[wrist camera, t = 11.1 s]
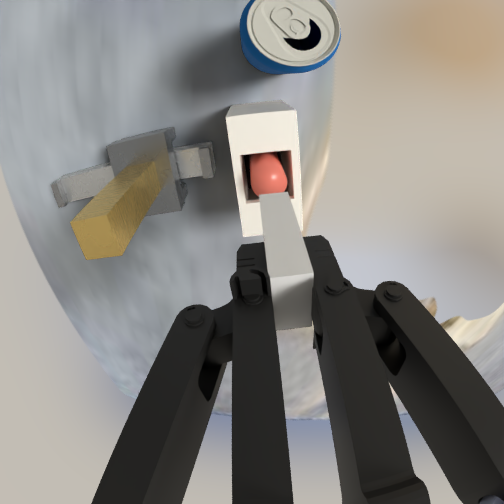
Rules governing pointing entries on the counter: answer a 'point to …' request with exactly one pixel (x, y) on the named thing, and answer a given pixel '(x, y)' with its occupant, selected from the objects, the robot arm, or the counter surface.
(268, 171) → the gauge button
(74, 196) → the rail
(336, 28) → the beverage can
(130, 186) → the carriage
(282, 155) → the end cabinet
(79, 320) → the counter surface
